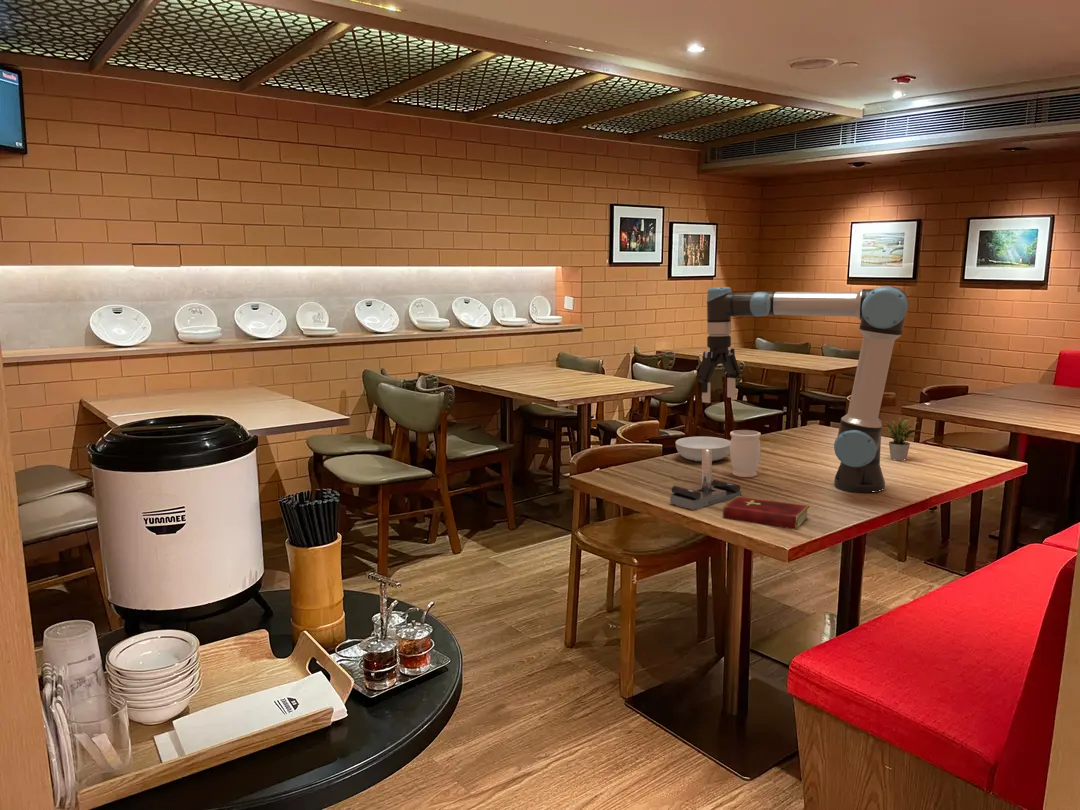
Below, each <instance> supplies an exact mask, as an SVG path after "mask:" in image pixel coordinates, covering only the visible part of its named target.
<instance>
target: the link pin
mask: <svg viewBox="0 0 1080 810" xmlns="http://www.w3.org/2000/svg"><path fill="white" fill-rule="evenodd" d="M712 463H713V461H712V449H702V462H701V486H702V492H704V493H710V492H711V491H712V487H713V486H712V481H713V480H712V478H713V477H712V476H713V474H712V473H713V472H712V470H713V466H712V465H713V464H712Z"/></svg>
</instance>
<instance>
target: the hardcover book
mask: <svg viewBox="0 0 1080 810" xmlns="http://www.w3.org/2000/svg"><path fill="white" fill-rule="evenodd" d="M809 508H810V505H805V504H797V503H791V502H782V501H775V500H769V499H761V498H753V497H749V496H748V497H747V496H746V497H745V496H742V495H741V496H737V497H735V498H732V499H730V500H729V501H728V502H727V503H725V504H724V505H723V506H722V518H723V519H728V518H729V520H735V521H742V522H746V523H747V522H750V523H754V524H760V525H761V524H762V525H767V524H768V526H773V525H774V526H775V527H780V526H782V528H786V527H788V528H789V529H792V528H795V529H794V530H798V529H797V528H799V526H801V524H803V522H805V520H806V519H807V518H808V509H809ZM788 528H787V529H788Z"/></svg>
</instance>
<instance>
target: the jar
mask: <svg viewBox="0 0 1080 810" xmlns="http://www.w3.org/2000/svg"><path fill="white" fill-rule="evenodd" d="M729 435H730V437H731V439H730V452H729V455H730V456H729V457H730V462H731V466H732V469H733V471H732V473H731V474H732V475H733V476H735V477H739V478H753V477H756V476H757V475H758V471H756V470H757V469H758V466H759V463H760V457H761V450H762V449H761V440H760V437H761V431H760V432H759V431H756V430H752V429H751V430H749V429H738V430H732V431H730V433H729Z"/></svg>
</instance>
